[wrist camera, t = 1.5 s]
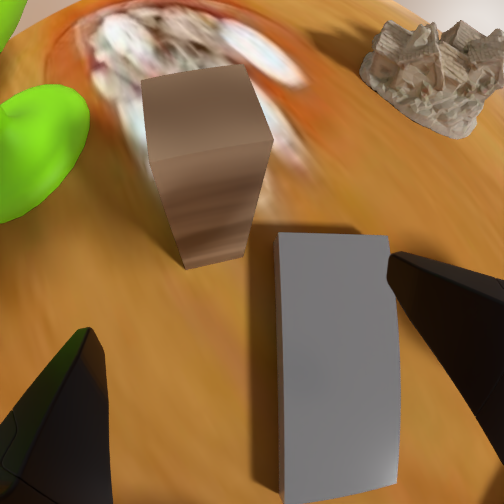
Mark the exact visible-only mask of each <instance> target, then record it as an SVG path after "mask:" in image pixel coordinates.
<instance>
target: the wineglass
mask: <svg viewBox="0 0 504 504" xmlns="http://www.w3.org/2000/svg"><path fill="white" fill-rule="evenodd" d="M26 3H27V0H0V53H1V52H2V50H3V48H4V47H5V45H6V43H7V42H8V40H9V39H10V37H11V35H12V34H13V32H14V31H15V29H16V27H17V25H18V23H19V21H20V18H21V15H22V13H23V10H24V7H25V5H26ZM89 128H90V111H89V109H88V106H87V104H86V101H85V99H84V98H83V97H82V96H81V95H80V94H79V93H78V92H76V91H75V90H74V89H72V88H69V87H66V86H63V85H60V84H45V85H40V86H36V87H32V88H29V89H27V90H24V91H22V92H20V93H18V94H16V95H14V96H13V97H11V98H10V99H8V100H7V101H5V102H4V103H2V104H1V105H0V223H5V222H8V221H10V220H13V219H16V218H18V217H21V216H23V215H24V214H26V213H27V212H28V211H30V210H31V209H33V208H34V207H36V206H38V205H39V204H41V203H42V202H43V201H44V200H45V199H46V198H47V197H48V196H49V195H50V194H51V193H52V192H53V191H54V190H55V189H56V188H57V187H58V186H59V185H60V184H61V182H62V181H63V180H64V178H65V177H66V176H67V174H68V173H69V172H70V171H71V169H72V168H73V167H74V165H75V163H76V161H77V159H78V157H79V155H80V153H81V152H82V150H83V148H84V146H85V142H86V139H87V135H88V132H89Z"/></svg>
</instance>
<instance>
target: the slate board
mask: <svg viewBox="0 0 504 504" xmlns="http://www.w3.org/2000/svg"><path fill="white" fill-rule="evenodd" d="M273 245H274V270H275V299H276V331H277V371H278V431H279V496H280V498H281V500H282V502H283V504H303V503H310V502H317V501H323V500H328V499H334V498H339V497H344V496H349V495H353V494H358V493H362V492H366V491H370V490H374V489H378V488H382V487H385V486H389V485H392V484H396V483H397V472H398V459H399V442H400V409H401V384H400V351H399V333H398V319H397V307H396V297H395V294H394V293H393V291H392V290H391V288H390V286H389V285H388V282H387V279H386V274H387V266H388V258H389V256H390V248H389V241H388V236H382V235H354V234H323V233H285V232H278V234H277V236H276V238H275V240H274V242H273Z"/></svg>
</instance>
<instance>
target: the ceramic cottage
mask: <svg viewBox="0 0 504 504" xmlns="http://www.w3.org/2000/svg"><path fill="white" fill-rule="evenodd" d="M373 39H374V40H372V43H373V45H372V48H373V50H374V51H373V52H369V53H368V54H367V55H366V57H365V58H364V59H363V63H362V65H361V66H360V67H361V68H360V70H359V71H360V72H359V74H360V76H361V78H362V80H363V81H364V82H366V84H367V85H368V86H369V87H372V89H373V90H376V91H377V92H378V94H379V95H380V96H382V97H383V98H384V99H385V100H387V101H388V102H389V103H391V104H392V105H394V107H395V108H396V109H398V110H400V112H401V113H402V114H404V115H406V117H409V119H411V120H413V121H415V122H417V123H419V124H420V125H422V126H426V127H428V128H431V130H433V131H435V132H436V133H439V134H441V135H444V136H445V135H446V136H449V138H452V139H461V138H464V137H467V136H468V135H469V134H470V133H471V132H472V130H473V129H474V128H475V126H476V125H477V122H476V117H477V116H478V115H479V113H480V112H481V110H482V109H483V105H484V101H485V100H486V99H487V98H488V97H489V96H490V95H491V94H492V93H493V92H494V91H495V90H497V89H501V88H503V86H504V73H503V67H504V32H503V31H502V30H500V29H495V30H494V31H493V32H492V33H491V34H490V35H489V36H488V37H486V36H484V35H482V34H481V33H479V32H478V31H476V30H475V29H474V28H472V27H471V26H469V25H468V24H467V23H465V22H463V21H462V20H460V22H457V24H455V25H454V27H452V28H451V29H450V30H447V31H446V32H443V33H442V35H441V40H439V38H438V31H437V27H436V24H435V23H434V22H432V23H431V24H430V25H429V24H427V25H426V26H423V25H422V24H420V25H419V26H418V27H417V29H416V30H415V31H409V30H406V29H404V28H403V27H401V26H399V25H398V24H396V23H395V22H394V21H392V20H390V21H387V22H386V23H385V24H384V26H383V28H382V30H381V32H380V33H379V34H377V35H375V37H374V38H373Z"/></svg>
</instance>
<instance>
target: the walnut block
mask: <svg viewBox="0 0 504 504" xmlns="http://www.w3.org/2000/svg"><path fill="white" fill-rule="evenodd" d="M141 88H142V100H143V111H144V121H145V130H146V139H147V148H148V156H149V163H150V166H151V169H152V173H153V176H154V179H155V182H156V185H157V188H158V191H159V194H160V198H161V201H162V204H163V207H164V210H165V213H166V216H167V218H168V221H169V224H170V227H171V230H172V233H173V236H174V239H175V242H176V244H177V247H178V250H179V253H180V256H181V258H182V261H183V264H184V267H185V269H186V270H188V269H192V268H197V267H201V266H206V265H210V264H214V263H219V262H223V261H228V260H232V259H236V258H241V257H243V255H244V252H245V248H246V244H247V240H248V236H249V232H250V229H251V225H252V221H253V217H254V213H255V209H256V206H257V202H258V198H259V194H260V190H261V187H262V183H263V179H264V175H265V171H266V168H267V164H268V160H269V156H270V152H271V149H272V145H273V141H274V139H273V136H272V134H271V131H270V128H269V126H268V123H267V121H266V118H265V116H264V113H263V111H262V108H261V106H260V103H259V101H258V98H257V96H256V93H255V91H254V88H253V86H252V83H251V81H250V78H249V76H248V74H247V71H246V69H245V66H244V64H239V65H229V66H221V67H213V68H206V69H199V70H192V71H186V72H180V73H175V74H169V75H164V76H159V77H154V78H150V79H145V80H141Z"/></svg>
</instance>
